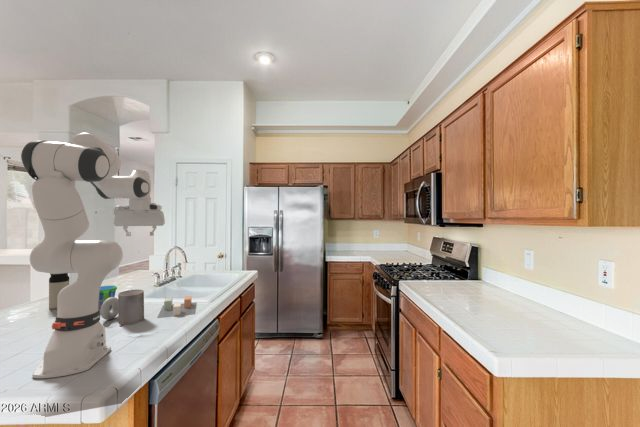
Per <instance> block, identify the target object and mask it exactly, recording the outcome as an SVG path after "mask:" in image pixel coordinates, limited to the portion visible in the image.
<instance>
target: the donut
mask: <svg viewBox="0 0 640 427" xmlns="http://www.w3.org/2000/svg"><path fill="white" fill-rule="evenodd" d="M111 305H112V307H110V306H111ZM99 310H100V317H102V318H103V320H106V321H110V320H113V319H115V318H116V317H117V316H118V297H116V296H115V297H110V298H108V299H106V300H105V301H104V302H103V304H102V306H101V309H99Z"/></svg>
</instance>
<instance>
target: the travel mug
mask: <svg viewBox="0 0 640 427" xmlns="http://www.w3.org/2000/svg"><path fill="white" fill-rule="evenodd" d="M49 274H50V277H49V278H48V308H49V309H50V310H51V309H52V310H57V296H58V294H59V292H60V291H61V290H62V289H63V288H64V287H66V286H67V285H69V284H70V276H69V273H58V274H53V273H49Z"/></svg>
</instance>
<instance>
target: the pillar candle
mask: <svg viewBox="0 0 640 427" xmlns="http://www.w3.org/2000/svg"><path fill="white" fill-rule="evenodd" d="M144 292H145V290H144V289H132V288H131V289H129V290H123V291H121V292H118V293H117V294H118V295H117V296H118V297H117V299H118V314H117V316H118V317H117V318H118V319H117V320H118V324H119V327H121V328H122V327H123V326H124V325H132V324H134V325H135V324H136V323H140V322H143V321H144V320H145V293H144Z"/></svg>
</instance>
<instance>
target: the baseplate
mask: <svg viewBox="0 0 640 427" xmlns="http://www.w3.org/2000/svg"><path fill="white" fill-rule="evenodd" d="M161 306H162V307H161V308H160V310H159V313H158V315H157V317H156V319H161V318H171V317H181V316H193V315H196V313H197V301H196V302H191V307H188V308H184V303H181V314H180V315H175V316H173V306H174V304H173V303H172V308H171V309H166V310H164V304H163V305H161Z"/></svg>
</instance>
